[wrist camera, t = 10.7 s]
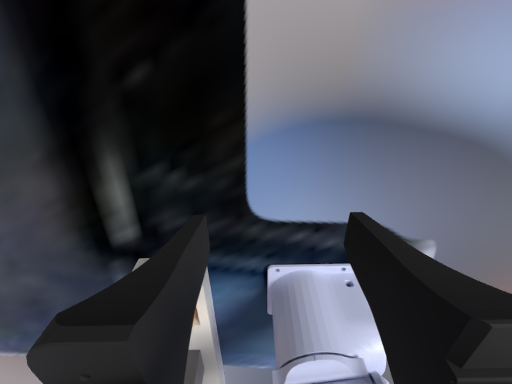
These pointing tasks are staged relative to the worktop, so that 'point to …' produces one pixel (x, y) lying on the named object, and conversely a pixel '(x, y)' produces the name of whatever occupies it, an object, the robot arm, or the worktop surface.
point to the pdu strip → (202, 340)
